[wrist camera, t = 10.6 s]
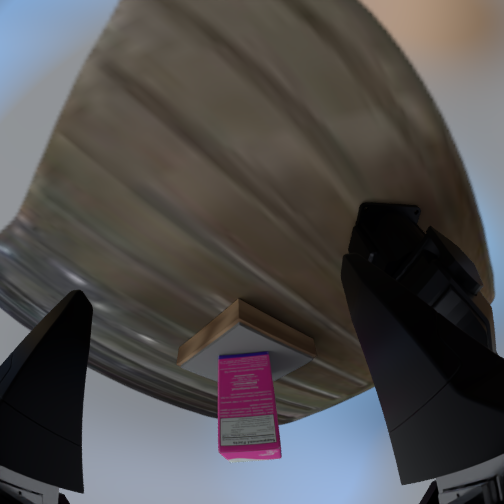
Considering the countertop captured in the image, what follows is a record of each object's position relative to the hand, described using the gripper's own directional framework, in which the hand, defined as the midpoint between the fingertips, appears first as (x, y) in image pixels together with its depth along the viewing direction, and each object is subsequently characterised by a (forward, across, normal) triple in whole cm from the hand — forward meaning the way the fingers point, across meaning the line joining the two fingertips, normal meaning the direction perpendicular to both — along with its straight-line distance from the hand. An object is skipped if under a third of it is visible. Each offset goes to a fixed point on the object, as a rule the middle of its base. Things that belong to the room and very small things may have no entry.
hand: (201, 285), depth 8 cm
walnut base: (+12, +1, +23) cm, 26 cm away
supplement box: (+10, +1, +23) cm, 25 cm away
